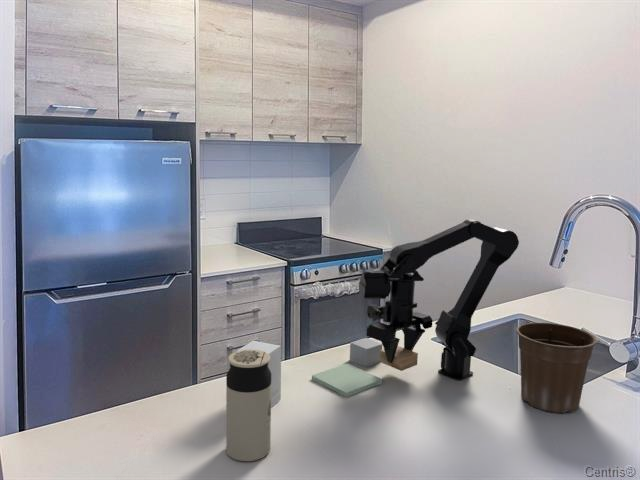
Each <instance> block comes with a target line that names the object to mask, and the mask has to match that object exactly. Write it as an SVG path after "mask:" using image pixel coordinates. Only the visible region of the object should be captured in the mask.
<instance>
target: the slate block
mask: <svg viewBox="0 0 640 480" xmlns="http://www.w3.org/2000/svg"><path fill="white" fill-rule="evenodd" d="M349 344H350V345H349V361H351V362H353V363H355V364H358V365H360V366H363V367H365V368H367V367H369V366H373V365H375V364H378V363H381V362H380V350H383V345H382V342H378V341H376V340H373V339H372V338H371V339H370V338H368V337H365V338H361V339H357V340H354V341H351V342H350V343H349Z"/></svg>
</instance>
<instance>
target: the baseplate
mask: <svg viewBox="0 0 640 480" xmlns="http://www.w3.org/2000/svg"><path fill="white" fill-rule="evenodd" d="M311 380H313V381H314V382H317V383H318V384H320V385H322V386H324V387H326V388H328V389H330V390H332V391H334V392H336V393H338V394H340V395H341V396H344V397H345V398H348V397H350V396H353V395H355V394H357V393H360V392H362V391H364V390H368V389H370V388H372V387H376V386H377V385H381V384H382V383H383V378H382V377H378V376H376V375H374V374H373V373H370V372H367V371H366V370H364V369H361V368H358V367H356V366H354V365H352V364H349V363H343V364H342V365H338V366H335V367H331V368H329V369H326V370H322V371H320V372H317V373H315V374H311Z"/></svg>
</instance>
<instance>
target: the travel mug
mask: <svg viewBox="0 0 640 480" xmlns="http://www.w3.org/2000/svg"><path fill="white" fill-rule="evenodd" d="M236 351H237V350H236ZM236 351H234V352H232V353H230V354H229V355H228V357H227V362H228V363H229V367H230V368H229V369H228V370H227V373H226V380H225V381H226V384H225V385H226V403H225V404H226V407H225V408H226V410H225V411H226V412H225V413H226V416H225V417H226V420H225V422H226V425H225V426H226V428H225V430H226V432H225V433H226V435H225V436H226V439H225V440H226V441H225V443H226V449H225V450H226V453H227V455H228V456H229V458H230V459H231V458H232V459H234V460H237V461H240V462H252V461H253V462H254V461H258V460H260V459H262V458H264V457H266V456H267V455H268V454H269V453H270V451H271V435H272V434H271V432H272V431H271V430H272V429H271V427H272V425H271V423H272V418H271V417H272V407H271V371H270V370H269V368H268V362H269V361H270V355H269V354H268V353H266V352H264V351H260V350H241V351H237V352H236Z"/></svg>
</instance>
